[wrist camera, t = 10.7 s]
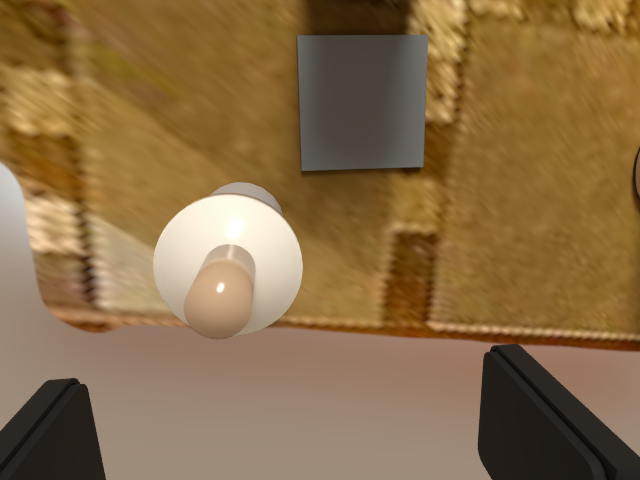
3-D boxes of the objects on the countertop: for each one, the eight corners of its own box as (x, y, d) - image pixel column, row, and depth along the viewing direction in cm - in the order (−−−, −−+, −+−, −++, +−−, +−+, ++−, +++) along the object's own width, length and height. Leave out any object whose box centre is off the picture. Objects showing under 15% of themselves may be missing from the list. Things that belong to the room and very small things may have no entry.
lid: (298, 189, 28) (307, 212, 20) (303, 320, 30) (313, 383, 23) (150, 196, 27) (106, 222, 20) (168, 330, 29) (134, 398, 22)
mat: (425, 36, 37) (428, 34, 37) (420, 166, 40) (423, 166, 40) (296, 36, 36) (297, 35, 36) (301, 170, 39) (301, 170, 39)
